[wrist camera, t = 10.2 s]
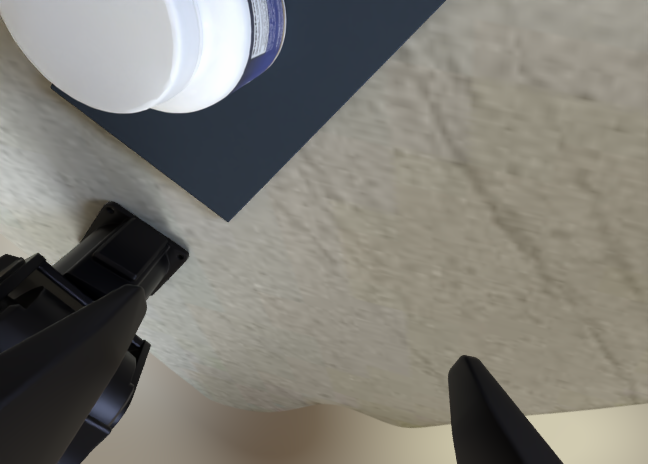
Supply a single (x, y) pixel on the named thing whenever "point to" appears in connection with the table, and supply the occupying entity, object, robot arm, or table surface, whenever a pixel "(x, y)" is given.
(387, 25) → the rubber mat
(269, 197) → the table surface
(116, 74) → the pill bottle
